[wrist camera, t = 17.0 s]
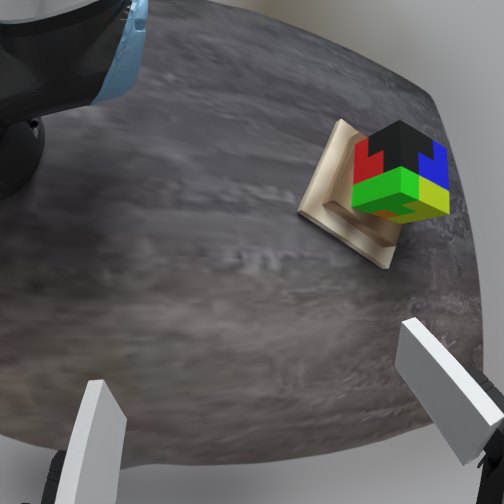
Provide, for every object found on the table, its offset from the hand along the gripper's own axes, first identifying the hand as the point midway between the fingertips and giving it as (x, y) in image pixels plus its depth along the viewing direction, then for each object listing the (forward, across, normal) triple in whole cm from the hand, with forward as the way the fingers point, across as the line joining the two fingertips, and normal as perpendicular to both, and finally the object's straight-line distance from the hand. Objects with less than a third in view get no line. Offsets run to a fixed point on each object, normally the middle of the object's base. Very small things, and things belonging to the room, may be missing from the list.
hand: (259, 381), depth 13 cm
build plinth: (+37, +23, -3) cm, 43 cm away
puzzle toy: (+33, +24, -1) cm, 41 cm away
